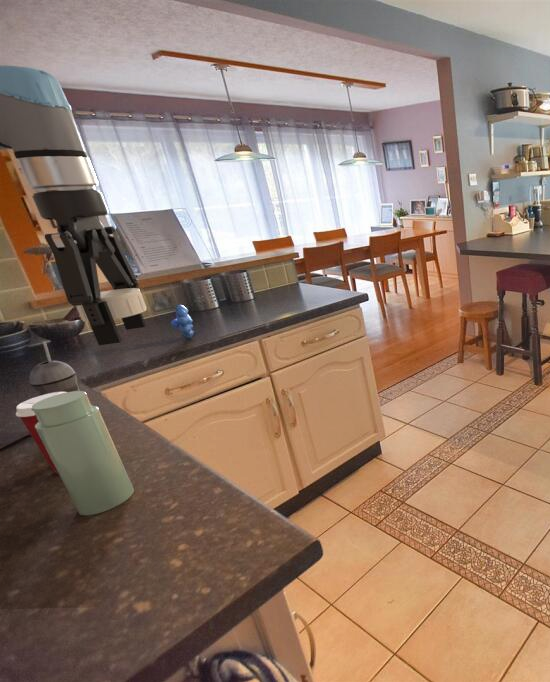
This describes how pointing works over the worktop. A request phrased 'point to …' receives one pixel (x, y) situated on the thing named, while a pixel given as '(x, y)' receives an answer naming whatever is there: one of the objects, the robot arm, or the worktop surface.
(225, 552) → the worktop surface
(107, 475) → the thermos
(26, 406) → the paper cup
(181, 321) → the grapes
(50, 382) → the beverage cup
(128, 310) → the thermos lid
